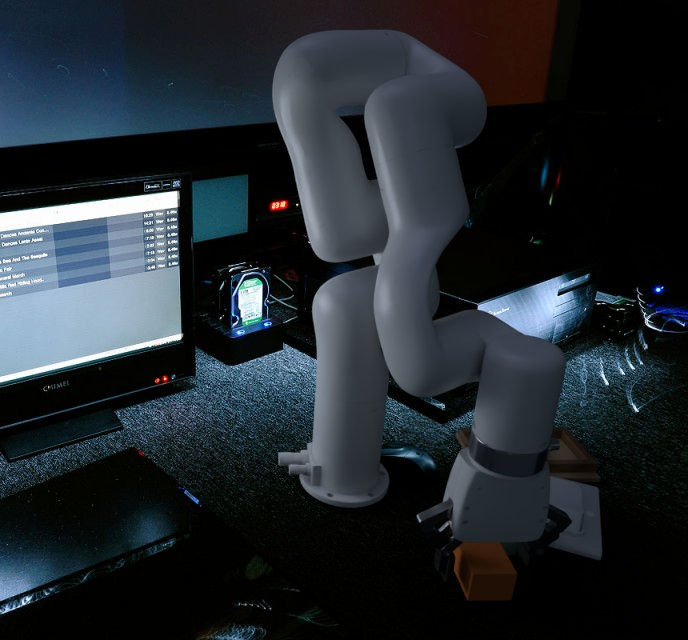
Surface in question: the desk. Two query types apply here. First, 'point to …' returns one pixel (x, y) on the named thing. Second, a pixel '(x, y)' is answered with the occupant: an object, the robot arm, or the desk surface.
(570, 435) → the brown wooden tray
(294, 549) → the desk surface
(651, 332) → the desk surface
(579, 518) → the light switch
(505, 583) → the orange block
